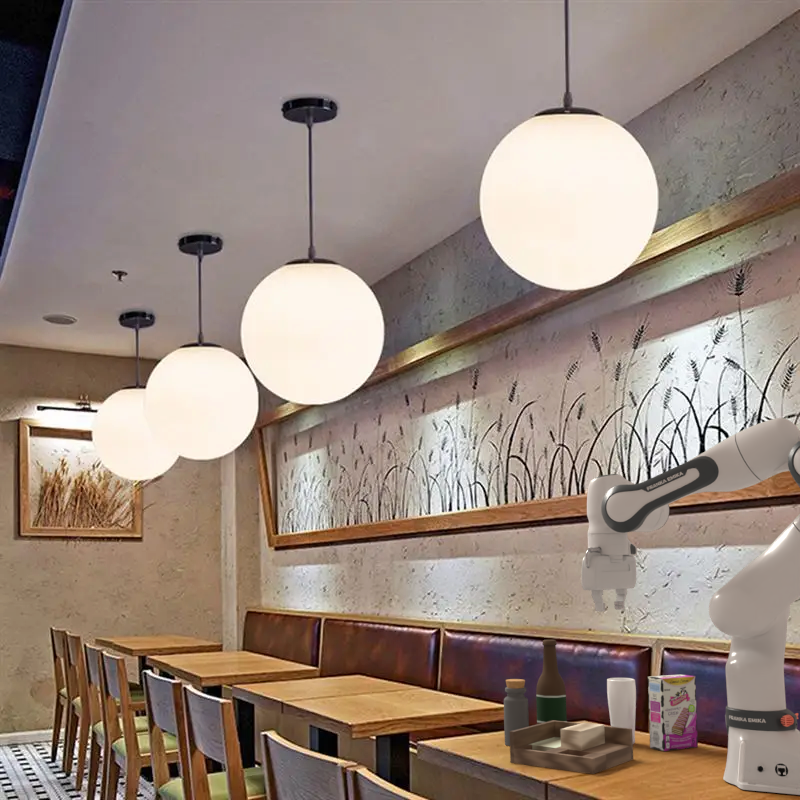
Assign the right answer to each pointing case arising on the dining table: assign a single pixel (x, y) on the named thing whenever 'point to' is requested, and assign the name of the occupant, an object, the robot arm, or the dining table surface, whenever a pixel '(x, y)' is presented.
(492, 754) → the dining table surface
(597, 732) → the cream rectangular block
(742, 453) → the robot arm
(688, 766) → the dining table surface
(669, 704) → the candy bar box
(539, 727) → the brown compartment tray
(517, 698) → the bottle
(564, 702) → the beer bottle
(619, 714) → the drinking glass
